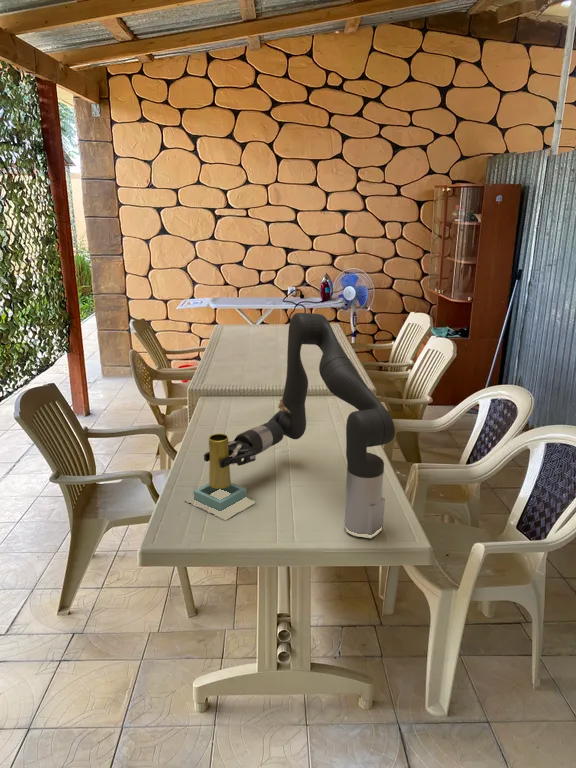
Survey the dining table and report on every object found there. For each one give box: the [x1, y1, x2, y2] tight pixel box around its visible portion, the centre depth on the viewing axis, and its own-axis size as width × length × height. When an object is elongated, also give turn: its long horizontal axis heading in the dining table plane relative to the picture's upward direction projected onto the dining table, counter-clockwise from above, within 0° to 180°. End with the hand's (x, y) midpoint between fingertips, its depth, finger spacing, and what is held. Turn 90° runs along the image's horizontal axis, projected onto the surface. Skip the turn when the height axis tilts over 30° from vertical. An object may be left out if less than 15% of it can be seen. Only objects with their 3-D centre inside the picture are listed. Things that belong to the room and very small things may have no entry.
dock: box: [193, 482, 247, 511], centre depth 172 cm, size 16×12×4 cm
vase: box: [208, 433, 232, 489], centre depth 169 cm, size 6×6×14 cm
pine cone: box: [277, 396, 290, 413], centre depth 229 cm, size 22×10×10 cm, turn 3°
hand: (212, 461), depth 167 cm, fingers closed on vase, 5 cm apart
